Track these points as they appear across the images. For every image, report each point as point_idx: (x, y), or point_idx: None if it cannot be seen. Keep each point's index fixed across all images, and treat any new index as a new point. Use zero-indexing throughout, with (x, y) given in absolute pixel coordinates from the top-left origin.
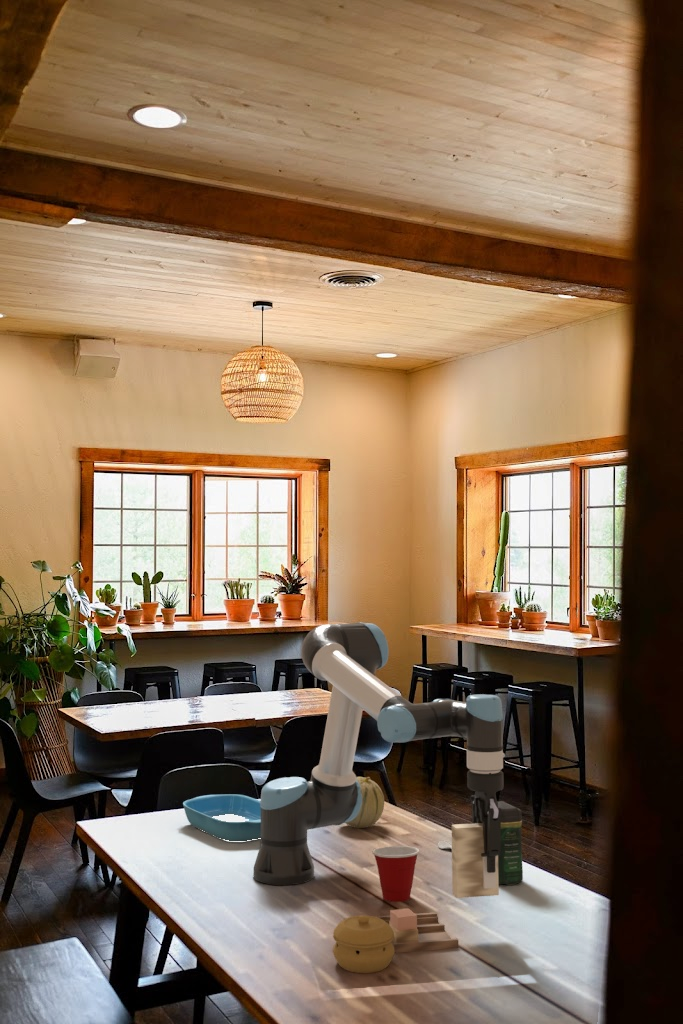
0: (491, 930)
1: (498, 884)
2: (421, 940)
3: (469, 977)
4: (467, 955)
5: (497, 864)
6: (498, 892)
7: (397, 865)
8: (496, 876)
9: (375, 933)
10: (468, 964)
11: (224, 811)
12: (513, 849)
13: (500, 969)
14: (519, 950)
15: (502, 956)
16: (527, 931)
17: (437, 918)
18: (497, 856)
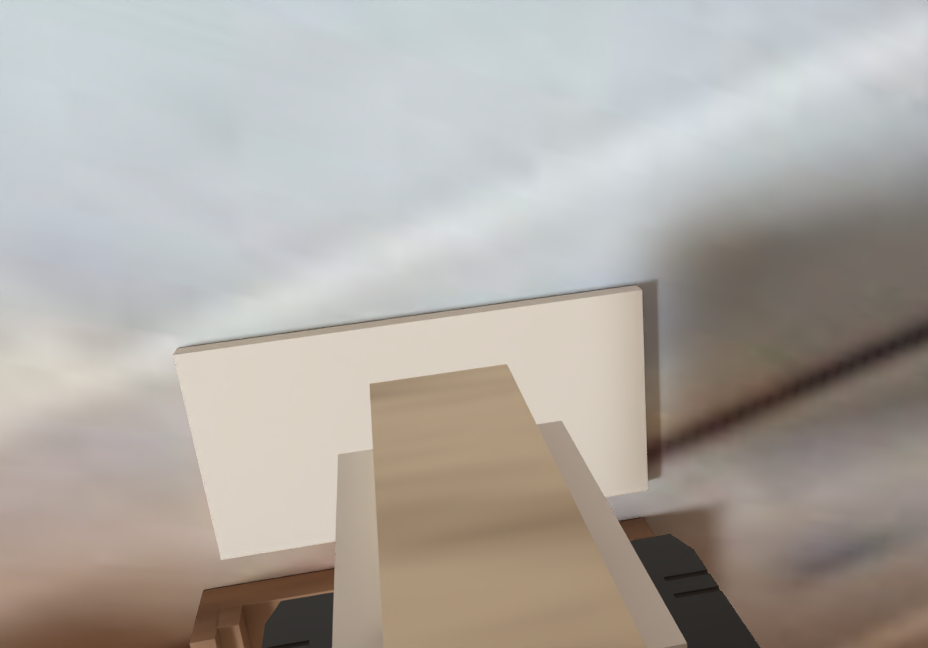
0: (294, 281)
1: (526, 404)
2: None
3: (922, 500)
4: (668, 476)
5: (586, 528)
6: (510, 374)
7: None
8: (591, 476)
9: None
10: (779, 485)
11: None
12: None
13: (874, 342)
14: (647, 177)
15: (715, 298)
16: (320, 30)
17: (241, 623)
18: (614, 595)
